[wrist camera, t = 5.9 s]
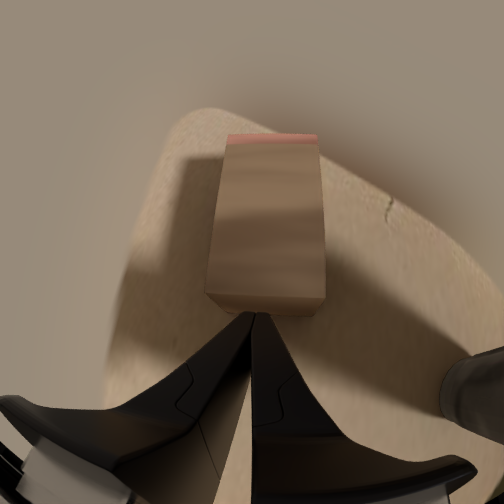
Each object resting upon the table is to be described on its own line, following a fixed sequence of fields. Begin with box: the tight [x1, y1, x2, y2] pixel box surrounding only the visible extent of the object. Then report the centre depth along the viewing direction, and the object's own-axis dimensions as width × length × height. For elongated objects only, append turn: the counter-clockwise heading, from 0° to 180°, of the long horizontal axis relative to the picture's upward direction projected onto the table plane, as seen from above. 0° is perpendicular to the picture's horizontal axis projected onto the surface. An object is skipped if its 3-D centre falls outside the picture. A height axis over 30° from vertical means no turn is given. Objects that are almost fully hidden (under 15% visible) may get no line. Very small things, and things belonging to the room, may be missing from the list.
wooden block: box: [204, 134, 326, 316], centre depth 15 cm, size 5×5×9 cm
